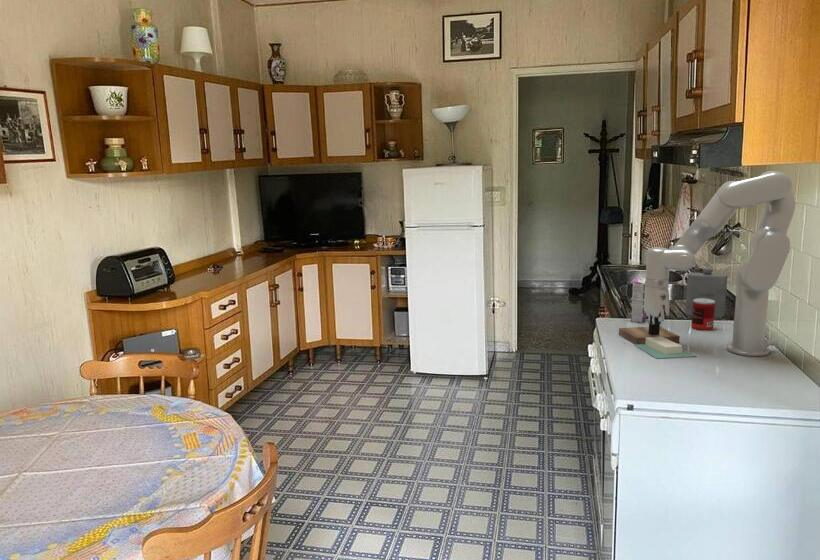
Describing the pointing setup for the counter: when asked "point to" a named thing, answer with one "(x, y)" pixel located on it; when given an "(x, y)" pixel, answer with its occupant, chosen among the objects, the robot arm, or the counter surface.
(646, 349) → the mat
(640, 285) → the candy bar box
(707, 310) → the canned food
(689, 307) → the grey upright rectangular block
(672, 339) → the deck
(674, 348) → the tile
